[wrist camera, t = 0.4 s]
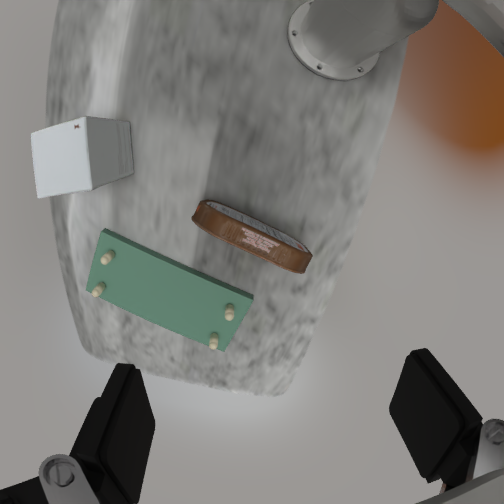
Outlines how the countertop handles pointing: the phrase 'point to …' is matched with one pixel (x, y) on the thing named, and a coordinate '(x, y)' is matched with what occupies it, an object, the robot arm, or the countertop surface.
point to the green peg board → (166, 291)
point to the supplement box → (81, 155)
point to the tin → (252, 235)
